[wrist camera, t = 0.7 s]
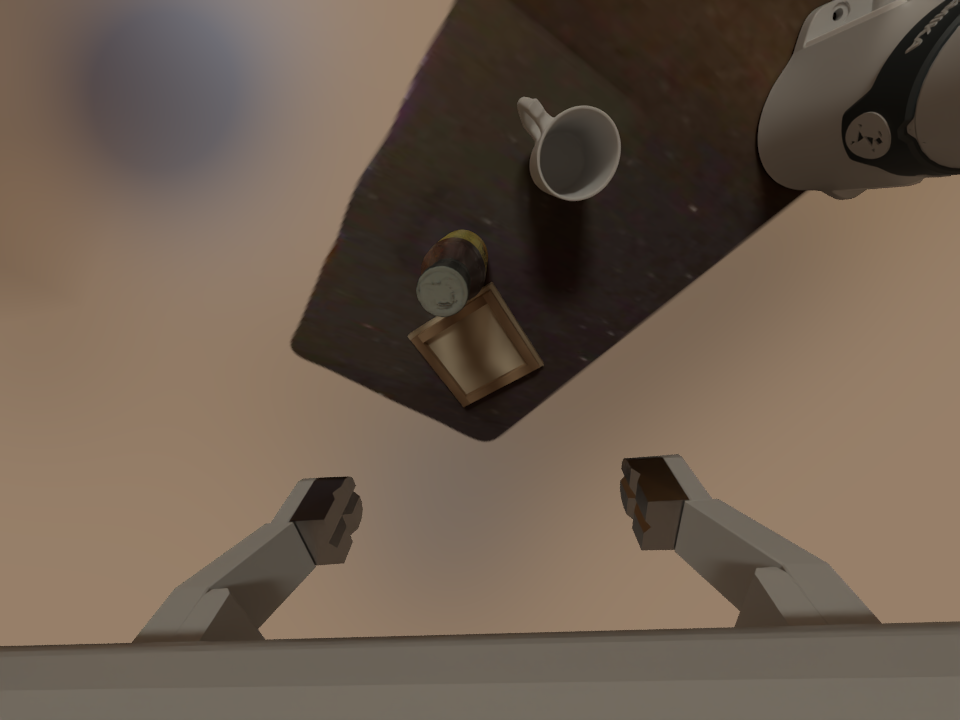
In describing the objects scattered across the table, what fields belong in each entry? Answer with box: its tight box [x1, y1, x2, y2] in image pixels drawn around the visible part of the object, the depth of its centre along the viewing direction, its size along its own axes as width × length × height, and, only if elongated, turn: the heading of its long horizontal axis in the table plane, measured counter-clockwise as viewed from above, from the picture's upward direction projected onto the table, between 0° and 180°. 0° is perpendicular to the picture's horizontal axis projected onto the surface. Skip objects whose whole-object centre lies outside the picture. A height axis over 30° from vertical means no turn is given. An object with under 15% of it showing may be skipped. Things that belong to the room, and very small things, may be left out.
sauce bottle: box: [416, 230, 488, 317], centre depth 35 cm, size 7×6×20 cm
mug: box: [517, 97, 621, 201], centre depth 33 cm, size 10×7×12 cm, turn 46°
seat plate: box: [408, 282, 544, 407], centre depth 49 cm, size 14×14×2 cm
